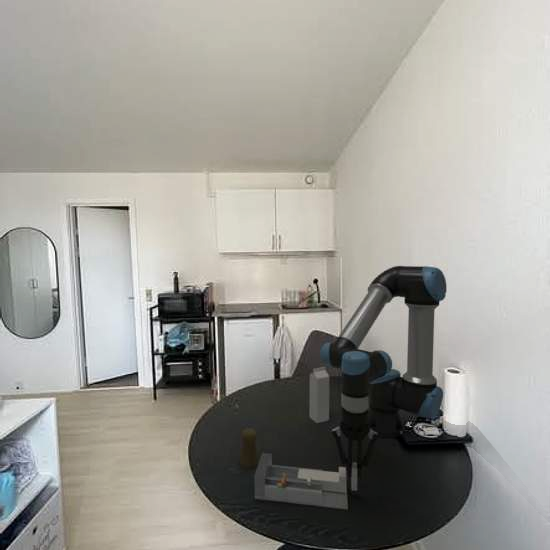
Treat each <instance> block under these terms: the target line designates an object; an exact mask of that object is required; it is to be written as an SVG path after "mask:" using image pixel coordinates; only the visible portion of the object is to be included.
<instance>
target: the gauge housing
mask: <svg viewBox="0 0 550 550" xmlns="http://www.w3.org/2000/svg"><path fill="white" fill-rule="evenodd" d="M272 458H273V457H272V453H270V452H268V453H266V452H262V453H261V456H260V458H259V460H258V464H257V466H256V471H255V473H254V499H255V500H261V501H263V500H264V501H271V502H280V503H286V504H287V503H288V504H296V505H306V506H313V507H322V508H323V507H324V508H332V509H339V510H340V509H342V510H348V509H349V505H348V504H349V503H348V489H347V484H346V493H341V492H332V491H323V490H322V482H312V481H311V486H307V481H302V480H297V478H298V471H299V469H308V470H318V471H324V470H323V469H318V468H317V469H315V468H306V467H298V466H297V467H296V466H286V465H276V464H272V462H273V461H272ZM283 473H286V486H280V485H278V486H277V483H278V482H279V483H281V482H282V476H283Z"/></svg>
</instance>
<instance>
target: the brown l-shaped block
mask: <svg viewBox="0 0 550 550" xmlns="http://www.w3.org/2000/svg"><path fill="white" fill-rule="evenodd" d="M278 485H280V486H286V473H283V476H282V482H281V483H279V482H278V483H277V486H278Z"/></svg>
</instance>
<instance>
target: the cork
mask: <svg viewBox="0 0 550 550" xmlns="http://www.w3.org/2000/svg"><path fill="white" fill-rule="evenodd" d="M257 435H258V433H257V431H256V430H255V429H253V428H246V429H243V430H242V432H241V435H240V439H241V441H242V446H241V455H240V456H241V457H240V461H239V462H240V463H239V464H240V466H241V467H242V468H245V469H253V468H255V467H257V466H258V464H259V458H258V451H257V442H256V441H257V438H258V437H257Z"/></svg>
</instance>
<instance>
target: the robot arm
mask: <svg viewBox="0 0 550 550" xmlns="http://www.w3.org/2000/svg"><path fill="white" fill-rule="evenodd" d="M447 290H448V289H447V281H446V277H445V274H444V273H443V271H442V270H441V269H440V268H439V267H434V266H427V265H426V266H422V265H421V266H418V265H417V266H414V265H413V266H410V265H409V266H407V265H395V266H391V267H390V268H387V269H386V270H384V271H382V272H381V273H379V274H378V275H377V276H376V277H375V278H374V279H373V280H372V282H371V283H370V284H369V286H368V287H367V294H366V295H365V296H364V298H363V300H362V301H361V302H360V304H359V306H358V307H357V308H356V310H355V311H354V313H353V314H352V316H351V317H350V319H349V320H348V321H347V323H346V325H345V326H344V328H343V330H342V331H341V332H340V334H339V335H338V337H337V338H336V339H335V341H334V342H326V343H324V344H323V345H322V347H321V348H320V354H319V355H320V356H319V357H320V360H321V362H322V363H323V364H324V365H326V366H329V367H331V368H333V369H334V368H335V369H339V370H341V392H340V394H341V399H340V400H341V402H340V405H341V412H340V414H341V415H340V416H341V418H340V419H341V420H340V423H339V426H337V427H332V428H331V435H332V437H334V440H335V442H336V447H337V450H338V454H339V458H340V462H341V464H342V465H345V466H346V468H347V469H346V476H347V477H348V478H351V481H350V486H351V491H358V479H361V478H362V469H363V467H366V468H367V467H368V466H369V462H370V459H371V456H372V452H373V449H374V445H375V443H376V441H377V440H378V438H379V437H380V438H381V437H382V438H388V439H389V438H390V439H393V438H397V437H400V436H399V432H400V431H402V430H403V428H404V429H405V424H404V421H403V417H402V415H401V412H400V410H402V411H404V412H407V413H410V414H413V415H415V416H418V417H422V418H426V419H433V418H435V416H436V415H437V414H438V413H439V410H440V409H441V406H442V403H443V398H444V390H443V389H442V387H441V386H438V379H437V378H436V377H435V376H434V375H433V372H434V371H433V370H434V369H433V367H434V340H435V339H434V338H435V336H434V335H435V334H434V333H435V310H436V309H437V307H439V306H440V302H441V301H444V300H445V298H446V296H447V295H446V294H447ZM396 297H397V298H398V297H399V298H404V305H405V306H406V307H407V308H408V317H407V318H408V319H407V320H408V321H407V323H408V324H407V330H408V331H407V358H406V359H407V361H406V362H407V363H406V364H407V365H406V372H405V373H403V374H402V376H401V372H400V371H399V370H398V369H394V368H393V360H392V358H391V356H390V355H389V354H388V352H386V351H384V350H381V349H378V350H373V351H367V350H365V349H364V350H363V349H359V348H360V347H361V344H362V343H363V341H364V340H365V338H366V336H367V335H368V333H369V332H370V330H371V328H372V327H373V325H374V324H375V322H376V320H377V319H378V317H379V316H380V314H381V312H382V311H383V309H384V307H385V306H386V304H389V303H391V302H392V300H393V299H394V298H396ZM341 433H342V434H343V435H344V437H345V438H346V440H347V453H346V454H347V456H346V455H345V449H344V447H343V443H342V438H341ZM367 436H368V439H367V443H366V446H365V451H364V455H363V457H362V451H363V450H362V449H363V446H362V445H363V440H364V439H366V437H367ZM353 441H355V442H356V462H353Z"/></svg>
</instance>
